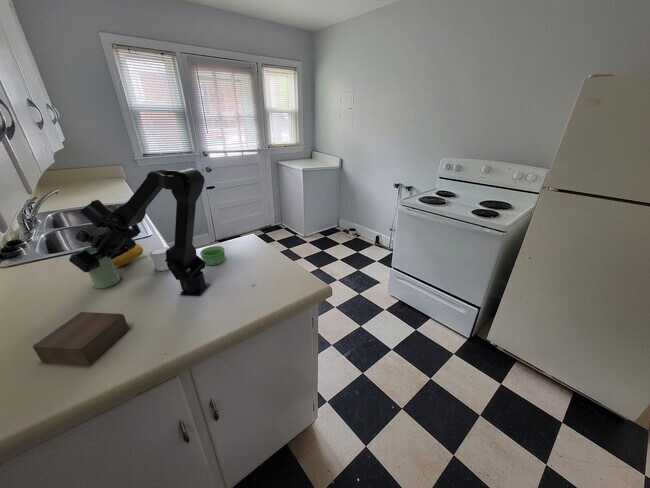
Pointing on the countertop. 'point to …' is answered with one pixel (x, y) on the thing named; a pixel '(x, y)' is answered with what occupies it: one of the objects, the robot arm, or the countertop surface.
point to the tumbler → (103, 271)
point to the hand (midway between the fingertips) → (96, 265)
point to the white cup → (159, 258)
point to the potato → (128, 256)
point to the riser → (82, 338)
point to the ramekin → (213, 255)
